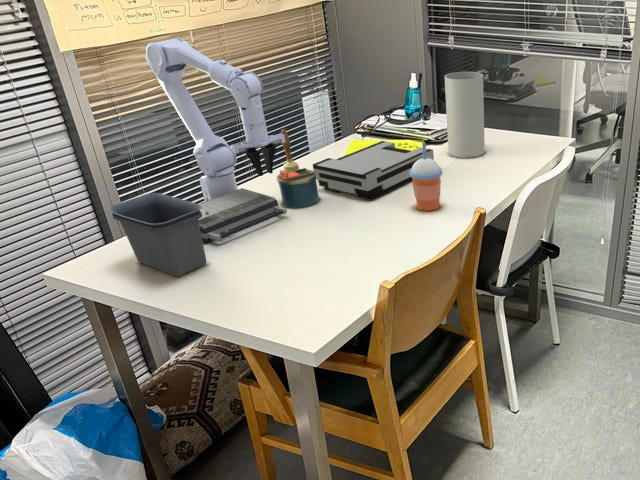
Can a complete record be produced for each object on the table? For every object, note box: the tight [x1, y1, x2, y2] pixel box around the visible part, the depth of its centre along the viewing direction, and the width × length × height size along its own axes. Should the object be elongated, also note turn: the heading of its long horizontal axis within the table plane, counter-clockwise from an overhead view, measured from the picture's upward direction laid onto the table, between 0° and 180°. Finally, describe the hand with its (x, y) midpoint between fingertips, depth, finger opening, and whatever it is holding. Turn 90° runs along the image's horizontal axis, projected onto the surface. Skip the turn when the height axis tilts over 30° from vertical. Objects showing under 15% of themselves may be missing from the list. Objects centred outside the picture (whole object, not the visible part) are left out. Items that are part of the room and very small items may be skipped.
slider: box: [278, 169, 300, 180], centre depth 185 cm, size 4×4×2 cm
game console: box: [312, 140, 435, 201], centre depth 202 cm, size 21×32×8 cm, turn 147°
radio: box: [198, 187, 288, 244], centre depth 177 cm, size 24×5×20 cm
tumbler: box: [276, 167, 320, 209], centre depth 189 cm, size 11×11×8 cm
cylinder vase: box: [444, 71, 486, 159], centre depth 219 cm, size 12×12×25 cm
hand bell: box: [280, 128, 300, 172], centre depth 202 cm, size 8×8×16 cm
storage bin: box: [107, 192, 207, 277], centre depth 156 cm, size 21×16×14 cm
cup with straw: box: [409, 142, 443, 212], centre depth 180 cm, size 9×9×18 cm
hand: (265, 173), depth 181 cm, fingers closed
